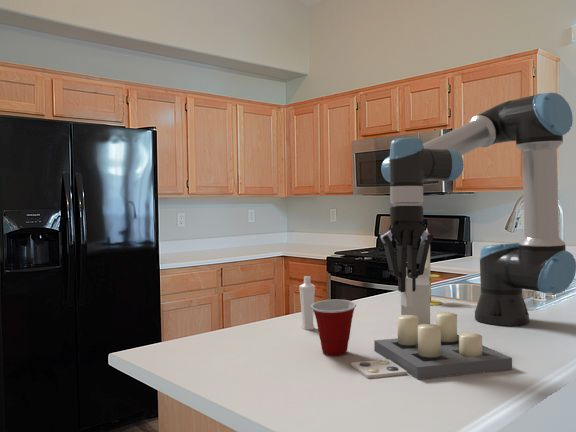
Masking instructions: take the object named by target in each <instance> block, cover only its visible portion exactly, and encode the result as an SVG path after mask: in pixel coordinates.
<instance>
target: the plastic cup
mask: <svg viewBox="0 0 576 432" xmlns="http://www.w3.org/2000/svg"><path fill="white" fill-rule="evenodd" d="M356 306H357V304H356V302H355V301H352V300H347V299H337V298H336V299H325V300H319V301H316V302H314V303H313V304H312V305H311V307H312V309H313V311H314V316H315V317H314V318H315V319H316V320H315V321H316V325H317V330H318V335H319V340H320V345H321V350H322V351H321V352H322V354H323V355H326V356H331V357H337V356H338V357H340V356H344V355H346V354H347V351H348V348H349V346H348V345H349V342H350V341H349V340H350V335H351V328H352V322H353V317H354V311H355V308H356Z"/></svg>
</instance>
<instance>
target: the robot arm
mask: <svg viewBox="0 0 576 432" xmlns="http://www.w3.org/2000/svg"><path fill="white" fill-rule="evenodd" d="M573 117H574V116H573V112H572V109H571V106H570V104H569V102H568V101H567V100H566V99H565V97H563V96H562V95H561V94H559V93H557V92H545V93H537V94H533V95H529V96H525V97H521V98H517V99H513V100H507V101H504V102H501V103H499V104H497V105H494V106H493V107H491V108H489V109H487V110H485V111H483V112H481V113H479V114H477V115H475V116H473V117H471V119H470V120H469V122H468V123H465V124H463V125H461V126H459V127H456V128H455V129H453V130H451V131H448V132H446V133H444V134H442V135H439V136H437V137H435V138H433V139H431V140H428V141H426V142H423V139H422V138H419V137H401V138H395V139H393V140H392V141H391V143H390V147H389V149H390V150H389V155H388V157H386V158H384V160H383V161H382V163H381V167H380V168H381V171H380V172H381V174H382V177H383V179H384V180H385V181H386V182H388V183H389V186H390V187H389V196H390V197H389V198H390V199H389V201H390V202H389V203H390V204H392V206H390V208H389V216H390V217H389V221H390V224H389V227H388V231H387V232H385V233H384V234H380V236H379V240H380V241H381V243H382V245H383V248H384V253H385V257H386V262H387V264H388V271H389V274H390V275H392V276H394V277H396V278H397V291H398V292H400V306H401V305H403V306H405V307H412V292H415V290H416V278H418V276H419V275H423V273H424V269H425V264H426V259H427V255H428V250H429V245H430V246H431V243H432V241H433V239H434V237H435V236H434V235H433V234H431V233H429V232H428V233H429V234H428V233H427V232H426V230H425V227H424V225H423V222H424V207H423V206H422V205H421V204H423V203H424V182H434V181H436V182H437V181H442V182H447V181H455V180H457V179H458V178H460V176H461V175H462V174H463V171H464V159H463V156H464V155H466V154H467V153H468V154H469V153H470V152H472V151H474V150H476V149H478V148H489V147H490V146H492V145H495V144H501V143H508V142H515V146H516V147H517V148H518V149H519V150H520V151H521V155H522V156H521V157H522V188H523V189H522V193H523V197H522V198H523V224H524V226H523V229H524V230H523V231H524V235H523V236H524V237H523V239H521V241H519V242H513V243H498V244H489V245H484V246H482V247H481V249H480V257H479V273H480V274H479V276H480V277H479V278H480V280H479V281H480V282H479V283H480V295H479V298H478V301H477V304H476V307H475V309H474V319H475V320H476V321H477V322H479V323H483V324H488V325H493V326H494V325H495V326H514V327H515V326H523V325H528V324H529V323H530V314H529V311H528V308H527V305H526V302H525V299H524V297H523V295H524V294H523V290H527V291H534V292H540V293H543V294H560V293H563V292H565V291H566V290H567V289H569V287H570V286H571V284H572V283H573V281H574V279H575V277H576V276H575V275H576V259H575V258H574V254H573V253H571V252H570V251H568V250H566V248H567V247H566V242H565V241H563V239H561V238H560V231H559V230H560V229H559V227H560V225H559V223H560V222H559V188H558V186H559V185H558V183H559V182H558V181H559V180H558V152H557V151H558V148H559V147H560V146H561V145H562V144H563V143H564V135H566V134H567V133H569V132H570V130H571V129H572V128H571V127H572V126H573V122H574V121H573V120H574V119H573ZM393 240H394V242H395V248H396V252H395V249H394V245H393V242H392V241H393ZM419 241H420V242H419ZM418 242H419V247H418ZM417 250H418V251H417ZM406 267H407V276H408V277H406Z"/></svg>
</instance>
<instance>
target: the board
mask: <svg viewBox="0 0 576 432" xmlns="http://www.w3.org/2000/svg"><path fill="white" fill-rule="evenodd" d="M373 346H374V352H376V353H377V354H379V355H380V356H382V357H383V358H384V359H385V360H387V359H389V360H391V361H392V362H394V363H395V364H397V365H398V366H400V367H401V368H403V369H404V370H406V371H407V374H409V375H410V376H411V377H413V378H414V379H416V380H425V379H427V380H428V379H435V378H445V377H454V376H455V377H456V376H463V375H473V374H482V373H483V372H485V373H492V372H501V371H502V372H503V371H511V370H513V357H511V356H508V355H507V354H504V353H502V352H499V351H498V350H495V349H492V348H489V347H488V346H485V345H483V344H482V356H478V357H467V358H466V357H464V356H462V355H460V354H459V334H457V341H454V342H443V341H441V356H439V357H423V356H420V355H419V354H418V344H417V345H402V344H399V343H398V337H397V338H388V339H387V338H385V339H375V340H374V345H373Z"/></svg>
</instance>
